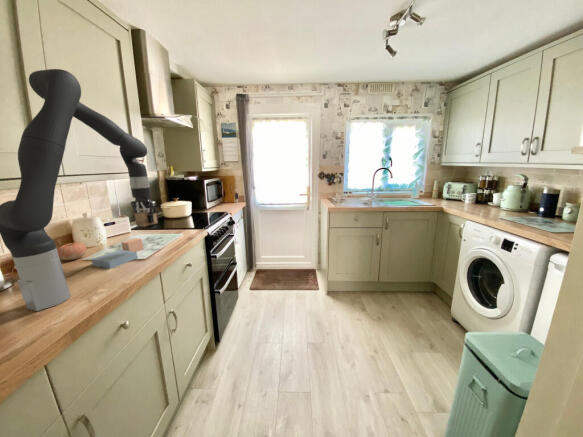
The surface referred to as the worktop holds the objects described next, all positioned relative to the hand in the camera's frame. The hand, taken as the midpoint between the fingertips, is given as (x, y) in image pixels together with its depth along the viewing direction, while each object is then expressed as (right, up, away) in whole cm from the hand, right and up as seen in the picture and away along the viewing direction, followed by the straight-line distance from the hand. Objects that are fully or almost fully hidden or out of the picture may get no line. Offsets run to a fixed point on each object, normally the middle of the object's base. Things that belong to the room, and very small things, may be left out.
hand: (147, 222), depth 110 cm
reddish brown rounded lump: (-37, -18, +2) cm, 41 cm away
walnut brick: (0, -1, 0) cm, 1 cm away
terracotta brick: (-12, -15, +9) cm, 21 cm away
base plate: (-12, -18, -4) cm, 22 cm away
